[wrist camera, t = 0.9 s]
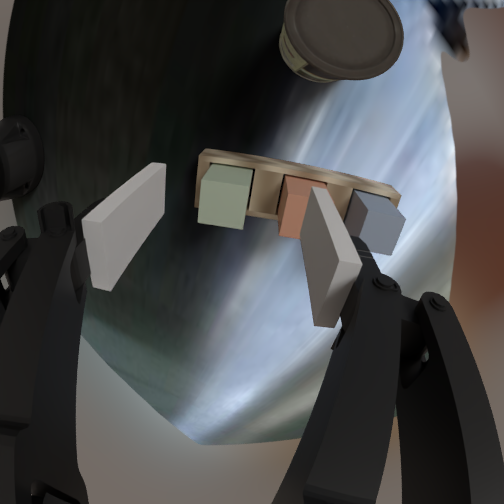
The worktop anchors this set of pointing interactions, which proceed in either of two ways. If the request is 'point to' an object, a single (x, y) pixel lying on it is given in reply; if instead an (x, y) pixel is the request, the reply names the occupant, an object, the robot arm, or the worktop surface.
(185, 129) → the worktop surface
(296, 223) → the terracotta block
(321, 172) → the socket rail
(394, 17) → the coffee can
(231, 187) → the sage block
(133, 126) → the worktop surface
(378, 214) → the slate block
